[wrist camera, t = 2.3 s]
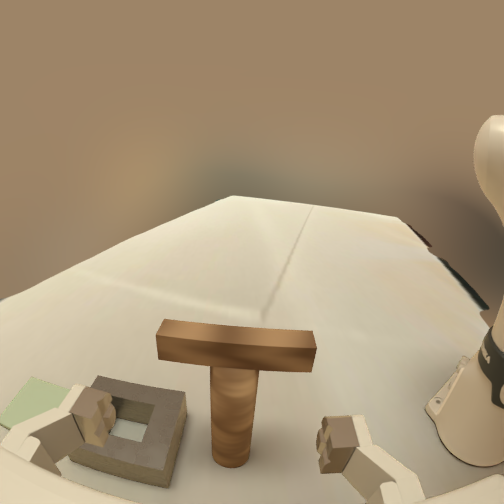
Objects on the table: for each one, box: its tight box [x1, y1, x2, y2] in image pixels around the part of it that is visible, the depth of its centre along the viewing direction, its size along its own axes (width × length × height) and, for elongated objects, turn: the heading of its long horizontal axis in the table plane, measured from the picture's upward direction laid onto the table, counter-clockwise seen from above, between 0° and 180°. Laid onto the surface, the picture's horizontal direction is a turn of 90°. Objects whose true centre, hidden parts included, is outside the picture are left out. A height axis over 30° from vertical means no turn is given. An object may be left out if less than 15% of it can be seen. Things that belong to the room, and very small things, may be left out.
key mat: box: [0, 377, 70, 430], centre depth 28 cm, size 10×10×1 cm
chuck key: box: [156, 319, 317, 468], centre depth 26 cm, size 12×4×16 cm, turn 88°
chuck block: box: [68, 376, 187, 488], centre depth 27 cm, size 11×11×4 cm
